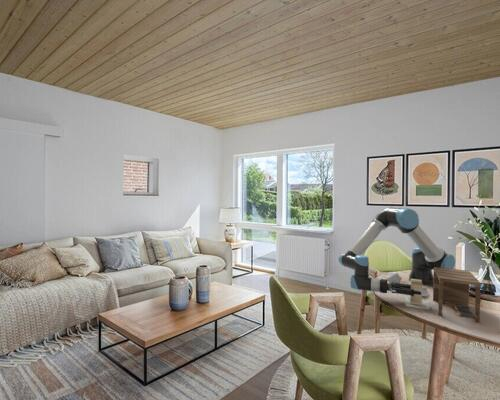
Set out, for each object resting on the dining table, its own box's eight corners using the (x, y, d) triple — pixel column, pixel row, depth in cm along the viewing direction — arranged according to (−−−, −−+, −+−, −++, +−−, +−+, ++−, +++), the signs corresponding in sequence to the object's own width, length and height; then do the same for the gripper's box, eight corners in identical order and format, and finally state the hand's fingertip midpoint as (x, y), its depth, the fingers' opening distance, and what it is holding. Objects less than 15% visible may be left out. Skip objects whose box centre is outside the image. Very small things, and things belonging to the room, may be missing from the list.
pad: (405, 299, 167) (405, 298, 167) (427, 302, 162) (427, 301, 162) (405, 305, 157) (405, 305, 157) (429, 309, 152) (429, 309, 152)
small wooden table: (432, 299, 166) (433, 267, 166) (467, 304, 159) (468, 270, 159) (438, 316, 144) (439, 278, 144) (479, 322, 137) (480, 282, 136)
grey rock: (400, 288, 189) (405, 274, 192) (387, 280, 191) (393, 267, 194) (394, 288, 197) (399, 276, 200) (382, 281, 198) (387, 269, 201)
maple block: (410, 300, 162) (410, 278, 162) (420, 302, 160) (421, 280, 160) (410, 303, 158) (411, 281, 158) (421, 305, 156) (422, 282, 155)
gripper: (380, 287, 175) (425, 294, 165) (378, 297, 159) (429, 304, 149) (380, 275, 175) (426, 280, 165) (378, 283, 159) (429, 289, 148)
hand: (427, 292), depth 157 cm, fingers closed on maple block, 5 cm apart
